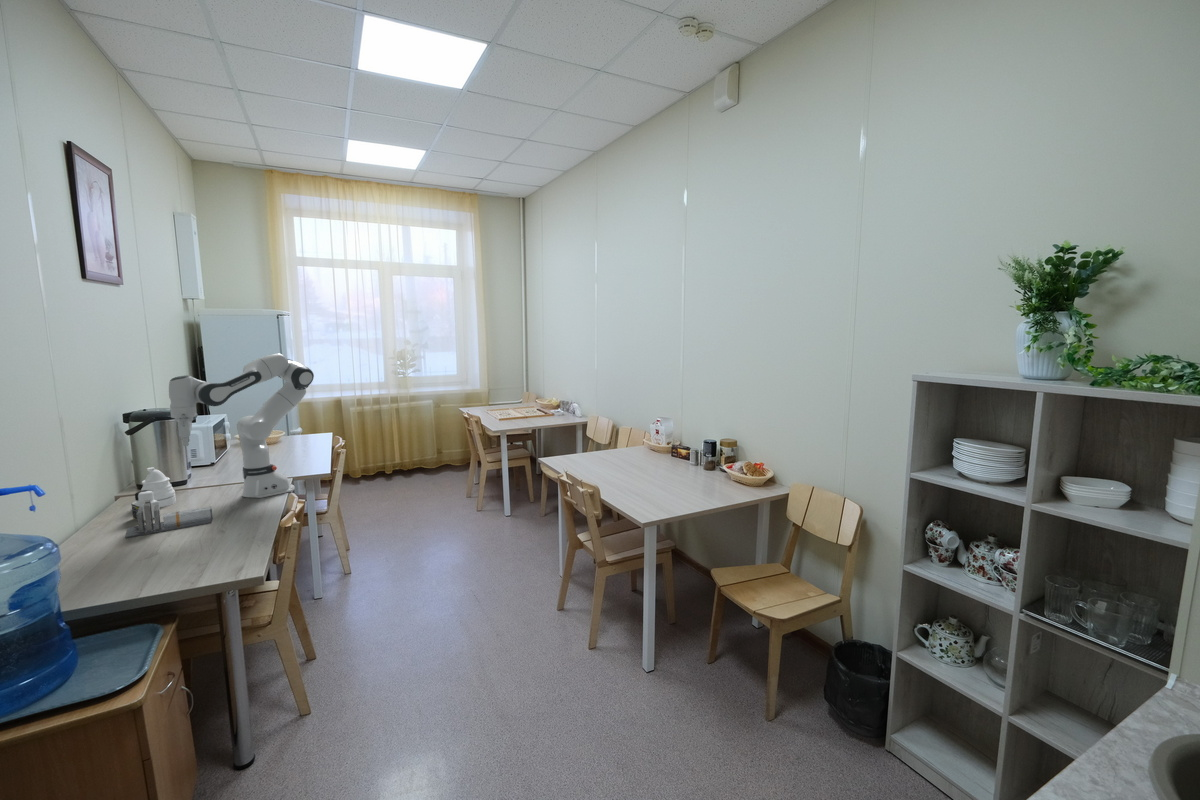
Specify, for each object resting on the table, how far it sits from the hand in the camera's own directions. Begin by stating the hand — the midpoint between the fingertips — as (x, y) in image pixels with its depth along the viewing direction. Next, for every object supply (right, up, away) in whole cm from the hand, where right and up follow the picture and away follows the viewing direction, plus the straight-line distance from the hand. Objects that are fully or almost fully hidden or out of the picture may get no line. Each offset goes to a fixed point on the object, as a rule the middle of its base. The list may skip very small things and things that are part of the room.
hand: (186, 443), depth 225 cm
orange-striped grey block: (+7, -32, -8) cm, 34 cm away
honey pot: (-26, -30, +15) cm, 42 cm away
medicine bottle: (-16, -32, -2) cm, 36 cm away
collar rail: (+3, -33, -11) cm, 35 cm away
